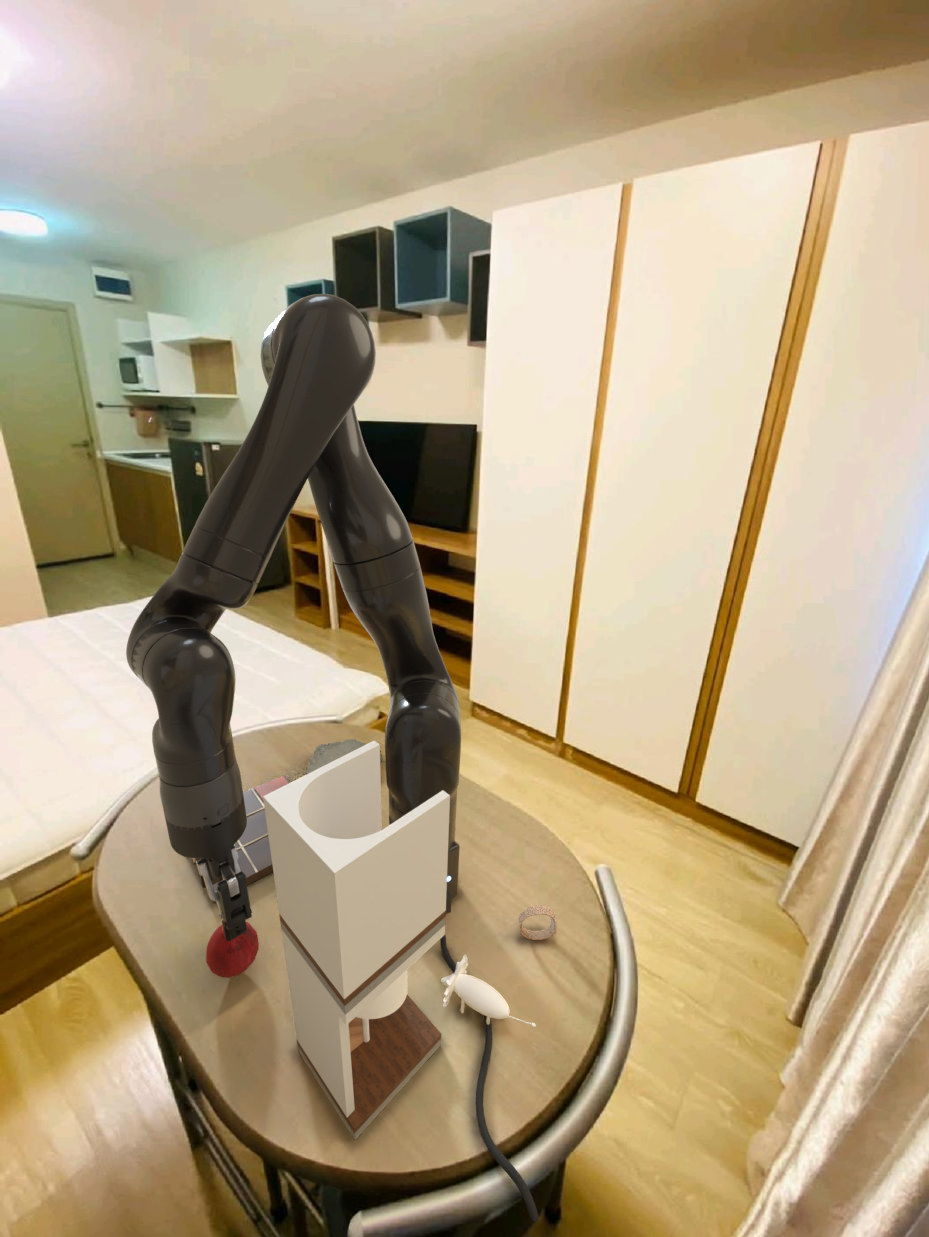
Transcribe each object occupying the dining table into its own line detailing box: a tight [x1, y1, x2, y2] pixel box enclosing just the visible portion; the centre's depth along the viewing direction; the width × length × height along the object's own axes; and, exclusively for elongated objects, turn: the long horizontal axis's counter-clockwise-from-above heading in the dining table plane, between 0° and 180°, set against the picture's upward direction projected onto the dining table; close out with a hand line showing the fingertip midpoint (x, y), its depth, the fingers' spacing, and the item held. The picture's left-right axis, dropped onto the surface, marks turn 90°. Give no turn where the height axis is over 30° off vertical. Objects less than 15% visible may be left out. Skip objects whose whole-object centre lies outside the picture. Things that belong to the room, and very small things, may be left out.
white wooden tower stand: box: [263, 740, 450, 1141], centre depth 50 cm, size 11×11×35 cm
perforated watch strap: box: [518, 905, 557, 941], centre depth 69 cm, size 3×5×5 cm, turn 91°
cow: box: [440, 953, 537, 1028], centre depth 60 cm, size 12×5×5 cm, turn 59°
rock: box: [305, 738, 383, 775], centre depth 99 cm, size 12×16×5 cm
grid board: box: [213, 774, 291, 903], centre depth 84 cm, size 18×18×2 cm
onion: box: [205, 921, 260, 979], centre depth 63 cm, size 6×6×8 cm
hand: (223, 907), depth 61 cm, fingers open, 8 cm apart
